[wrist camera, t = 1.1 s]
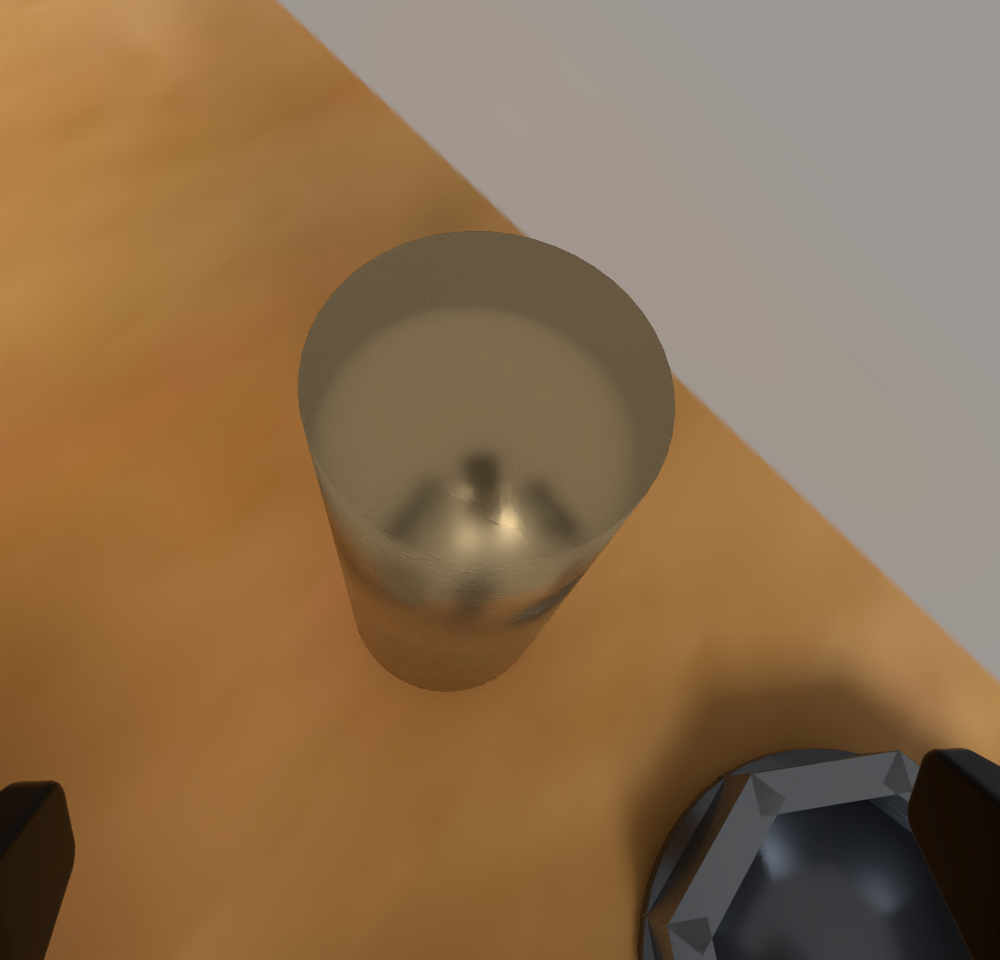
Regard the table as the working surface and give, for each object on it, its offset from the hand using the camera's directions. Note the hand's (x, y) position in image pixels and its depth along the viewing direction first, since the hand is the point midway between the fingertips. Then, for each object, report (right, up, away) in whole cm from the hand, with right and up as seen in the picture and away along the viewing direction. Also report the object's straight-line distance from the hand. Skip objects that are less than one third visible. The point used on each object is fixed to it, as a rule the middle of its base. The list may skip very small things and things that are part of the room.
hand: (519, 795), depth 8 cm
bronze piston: (-2, 0, +15) cm, 15 cm away
